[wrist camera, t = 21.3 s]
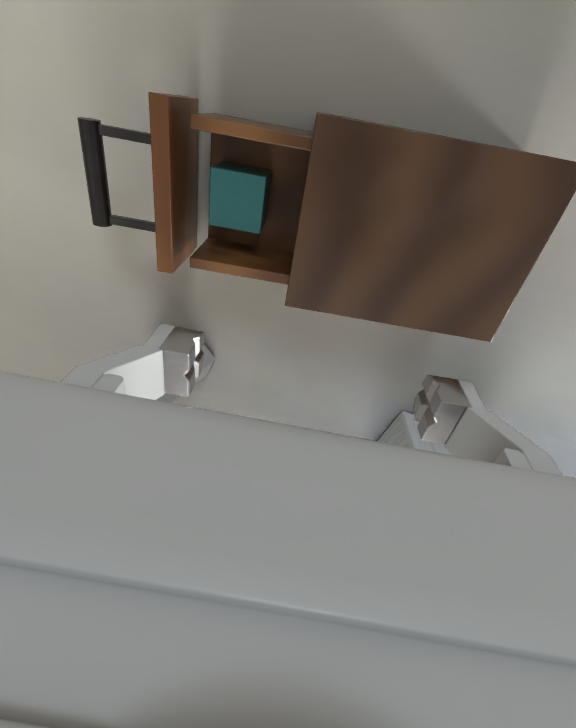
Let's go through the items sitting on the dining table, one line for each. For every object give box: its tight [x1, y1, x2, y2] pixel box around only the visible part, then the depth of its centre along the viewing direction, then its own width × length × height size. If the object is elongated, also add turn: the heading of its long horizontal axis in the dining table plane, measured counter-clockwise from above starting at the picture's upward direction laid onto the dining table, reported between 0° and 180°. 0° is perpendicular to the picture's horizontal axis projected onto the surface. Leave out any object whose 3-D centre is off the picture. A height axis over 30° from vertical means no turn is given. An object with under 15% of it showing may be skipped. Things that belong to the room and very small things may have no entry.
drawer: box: [78, 92, 314, 285], centre depth 28 cm, size 21×11×7 cm, turn 81°
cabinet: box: [285, 112, 576, 342], centre depth 29 cm, size 17×13×9 cm
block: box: [209, 161, 272, 234], centre depth 29 cm, size 4×4×4 cm
